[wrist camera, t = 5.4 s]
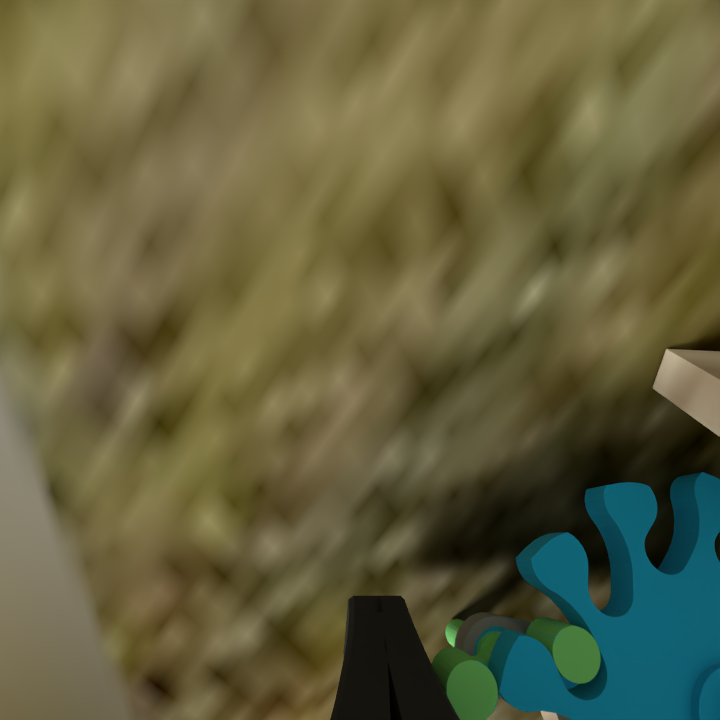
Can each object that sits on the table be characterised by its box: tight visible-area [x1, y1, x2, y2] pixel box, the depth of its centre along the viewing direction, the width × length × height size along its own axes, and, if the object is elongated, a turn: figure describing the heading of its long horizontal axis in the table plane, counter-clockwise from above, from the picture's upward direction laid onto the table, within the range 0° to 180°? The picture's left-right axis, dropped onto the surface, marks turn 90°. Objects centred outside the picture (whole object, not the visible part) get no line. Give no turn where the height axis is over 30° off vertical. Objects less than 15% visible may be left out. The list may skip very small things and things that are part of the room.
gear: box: [431, 472, 720, 720], centre depth 12 cm, size 11×6×10 cm
